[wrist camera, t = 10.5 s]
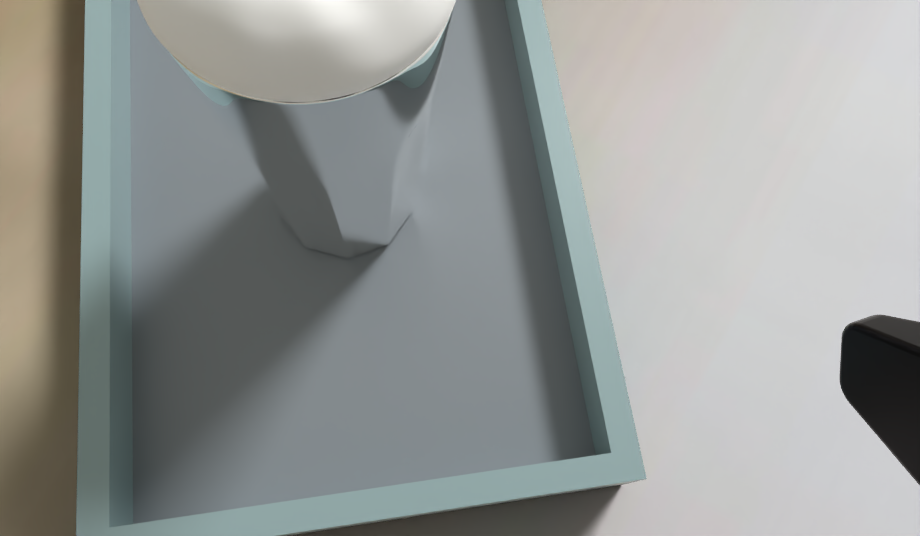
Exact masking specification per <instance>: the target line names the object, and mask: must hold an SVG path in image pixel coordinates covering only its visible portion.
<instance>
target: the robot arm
mask: <svg viewBox="0 0 920 536" xmlns="http://www.w3.org/2000/svg"><path fill="white" fill-rule="evenodd" d="M840 385H841V388H842V391H843V393H844V395H845V397H846V399H847V400H848V401H849V403H850V404H851V405H852V406H853V407H854V409H855V410H856V411H857V412H858V413H859V415H860V416H861V417H862V418H863V419H864V420H865V422H866V423H867V424H868V425H869V426H870V427H871V429H872V430H873V431H874V432H875V433H876V434H877V436H878V437H879V438H880V439H881V440H882V442H883V443H884V444H885V445H886V446H887V447H888V449H889V450H890V451H891V452H892V453H893V454H894V456H895V457H896V458H897V459H898V460H899V462H900V463H901V464H902V465H903V466H904V467H905V469H906V470H907V471H908V472H909V473H910V474H911V476H912V477H913V478H914V479H915V480H916V481H917V483H918V484H919V485H920V322H917V321H911V320H906V319H901V318H896V317H891V316H886V315H873V316H870V317H867V318H864V319H861V320H858V321H855V322H852V323H850V324H849V325H847V326H846V327H845V329H844V331H843V333H842V343H841V362H840Z"/></svg>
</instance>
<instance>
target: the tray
mask: <svg viewBox="0 0 920 536" xmlns="http://www.w3.org/2000/svg"><path fill="white" fill-rule="evenodd" d="M644 479H646V474H645V470H644V465H643V460H642V456H641V451H640V447H639V442H638V438H637V433H636V429H635V424H634V420H633V415H632V410H631V406H630V401H629V397H628V392H627V388H626V383H625V379H624V374H623V370H622V365H621V360H620V356H619V351H618V347H617V342H616V338H615V333H614V329H613V324H612V320H611V315H610V310H609V306H608V301H607V297H606V292H605V288H604V283H603V279H602V274H601V270H600V265H599V261H598V256H597V251H596V247H595V242H594V238H593V233H592V229H591V224H590V220H589V215H588V211H587V206H586V201H585V197H584V192H583V188H582V183H581V179H580V174H579V170H578V165H577V161H576V156H575V151H574V147H573V142H572V138H571V133H570V129H569V124H568V120H567V115H566V111H565V106H564V101H563V97H562V92H561V88H560V83H559V79H558V74H557V70H556V65H555V61H554V56H553V52H552V47H551V42H550V38H549V33H548V29H547V24H546V20H545V15H544V11H543V6H542V2H541V0H456V2H455V5H454V9H453V13H452V17H451V22H450V26H449V30H448V34H447V39H446V43H445V47H444V52H443V56H442V60H441V64H440V69H439V73H438V77H437V82H436V86H435V91H434V96H433V101H432V106H431V112H430V117H429V123H428V129H427V135H426V140H425V146H424V151H423V157H422V163H421V168H420V174H419V179H418V185H417V190H416V196H415V202H414V207H413V211H412V212H411V214H410V215H409V217H408V218H407V219H406V221H405V222H404V223H403V225H402V226H401V228H400V229H399V230H398V232H397V233H396V235H395V236H394V237H393V239H392V240H391V242H390V243H389V244H388V245H386V246H383V247H380V248H377V249H374V250H371V251H368V252H365V253H362V254H360V255H357V256H354V257H351V258H348V259H347V258H343V257H339V256H335V255H332V254H328V253H324V252H320V251H316V250H312V249H308V248H305V247H304V245H303V244H302V243H301V242H300V240H299V239H298V238H297V237H296V235H295V234H294V233H293V232H292V231H291V229H290V228H289V227H288V226H287V224H286V223H285V222H284V221H283V220H282V218H281V217H280V216H279V215H278V213H277V212H276V210H275V209H274V207H273V205H272V204H271V202H270V201H269V199H268V197H267V196H266V194H265V193H264V191H263V190H262V188H261V186H260V185H259V183H258V182H257V180H256V178H255V177H254V175H253V174H252V172H251V170H250V169H249V167H248V166H247V164H246V162H245V161H244V159H243V158H242V156H241V155H240V153H239V151H238V150H237V148H236V147H235V145H234V143H233V142H232V140H231V139H230V137H229V136H228V134H227V132H226V131H225V129H224V128H223V127H222V126H221V125H220V123H219V122H218V121H217V119H216V118H215V117H214V115H213V114H212V113H211V111H210V110H209V109H208V107H207V106H206V104H205V103H204V102H203V100H202V99H201V97H200V96H199V95H198V93H197V92H196V90H195V89H194V88H193V86H192V85H191V83H190V82H189V81H188V79H187V78H186V76H185V75H184V74H183V72H182V71H181V69H180V68H179V67H178V65H177V64H176V62H175V61H174V60H173V58H172V57H171V55H170V54H169V52H168V51H167V50H166V48H165V47H164V46H163V45H162V44H161V42H160V41H159V40H158V39H157V38H156V36H155V35H154V33H153V32H152V30H151V29H150V27H149V26H148V24H147V22H146V20H145V18H144V16H143V14H142V12H141V9H140V7H139V5H138V2H137V0H85V39H84V97H83V156H82V215H81V274H80V332H79V391H78V450H77V509H76V536H291V535H297V534H304V533H310V532H317V531H323V530H330V529H336V528H343V527H350V526H356V525H363V524H369V523H376V522H382V521H389V520H395V519H402V518H408V517H415V516H421V515H428V514H434V513H441V512H447V511H454V510H460V509H467V508H473V507H480V506H486V505H493V504H499V503H506V502H512V501H519V500H525V499H532V498H538V497H545V496H551V495H558V494H564V493H571V492H577V491H584V490H590V489H597V488H603V487H610V486H616V485H623V484H627V483H631V482H635V481H640V480H644Z"/></svg>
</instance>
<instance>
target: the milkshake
mask: <svg viewBox="0 0 920 536" xmlns="http://www.w3.org/2000/svg"><path fill="white" fill-rule="evenodd" d="M137 2H138V5H139V7H140V9H141V12H142V14H143V16H144V18H145V20H146V22H147V24H148V26H149V27H150V29H151V30H152V32H153V33H154V35H155V36H156V38H157V39H158V40H159V41H160V42H161V44H162V45H163V46H164V47H165V48H166V50H167V51H168V52H169V54H170V55H171V57H172V58H173V60H174V61H175V62H176V64H177V65H178V67H179V68H180V69H181V71H182V72H183V74H184V75H185V76H186V78H187V79H188V81H189V82H190V83H191V85H192V86H193V88H194V89H195V90H196V92H197V93H198V95H199V96H200V97H201V99H202V100H203V102H204V103H205V104H206V106H207V107H208V109H209V110H210V111H211V113H212V114H213V115H214V117H215V118H216V119H217V121H218V122H219V123H220V125H221V126H222V127H223V128H224V129H225V131H226V132H227V134H228V136H229V137H230V139H231V140H232V142H233V143H234V145H235V147H236V148H237V150H238V151H239V153H240V155H241V156H242V158H243V159H244V161H245V162H246V164H247V166H248V167H249V169H250V170H251V172H252V174H253V175H254V177H255V178H256V180H257V182H258V183H259V185H260V186H261V188H262V190H263V191H264V193H265V194H266V196H267V197H268V199H269V201H270V202H271V204H272V205H273V207H274V209H275V210H276V212H277V213H278V215H279V216H280V217H281V218H282V220H283V221H284V222H285V223H286V224H287V226H288V227H289V228H290V229H291V231H292V232H293V233H294V234H295V235H296V237H297V238H298V239H299V240H300V242H301V243H302V244H303V245H304V247H305V248H308V249H312V250H316V251H320V252H324V253H328V254H332V255H335V256H339V257H343V258H347V259H348V258H351V257H354V256H357V255H360V254H362V253H365V252H368V251H371V250H374V249H377V248H380V247H383V246H386V245H388V244H389V243H390V242H391V240H392V239H393V237H394V236H395V235H396V233H397V232H398V230H399V229H400V228H401V226H402V225H403V223H404V222H405V221H406V219H407V218H408V217H409V215H410V214H411V212H412V211H413V207H414V202H415V196H416V190H417V185H418V179H419V174H420V168H421V163H422V157H423V151H424V146H425V140H426V135H427V129H428V123H429V117H430V112H431V106H432V101H433V96H434V91H435V86H436V82H437V77H438V73H439V69H440V64H441V60H442V56H443V52H444V47H445V43H446V39H447V34H448V30H449V26H450V22H451V17H452V13H453V9H454V5H455V2H456V0H137Z"/></svg>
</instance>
